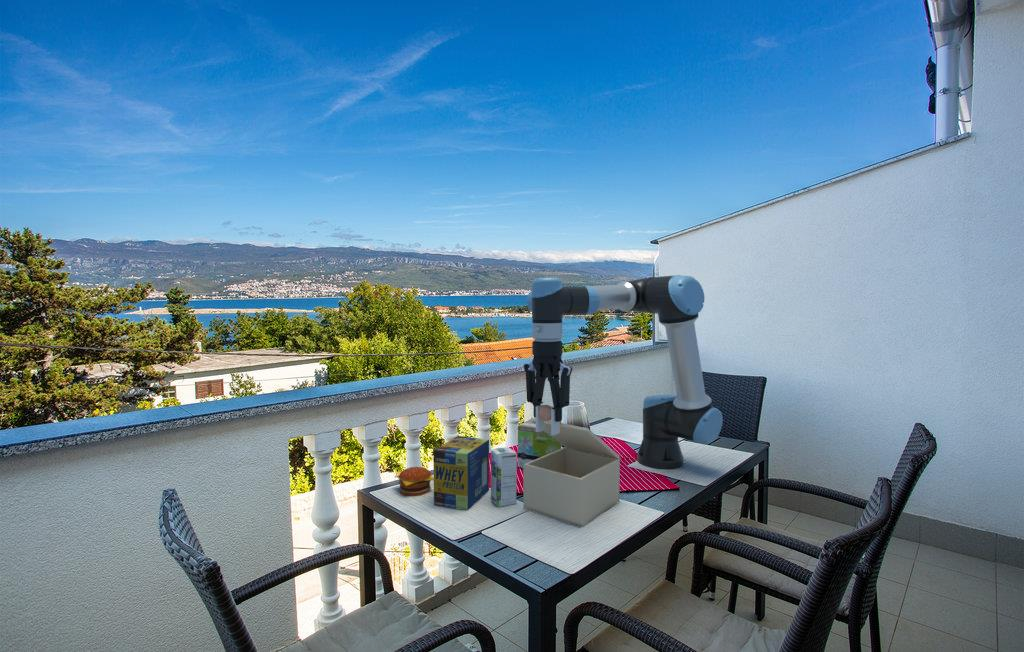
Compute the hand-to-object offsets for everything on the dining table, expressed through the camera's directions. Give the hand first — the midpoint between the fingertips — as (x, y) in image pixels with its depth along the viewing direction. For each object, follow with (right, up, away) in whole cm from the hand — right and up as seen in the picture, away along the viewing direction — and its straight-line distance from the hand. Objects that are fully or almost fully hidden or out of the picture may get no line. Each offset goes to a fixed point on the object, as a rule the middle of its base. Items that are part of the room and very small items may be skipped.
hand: (547, 432), depth 123 cm
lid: (+6, -3, +7) cm, 9 cm away
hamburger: (-38, -22, +21) cm, 49 cm away
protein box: (-23, -22, +16) cm, 35 cm away
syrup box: (-11, -22, +12) cm, 28 cm away
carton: (+7, -22, +10) cm, 25 cm away
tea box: (+2, -21, +41) cm, 46 cm away
